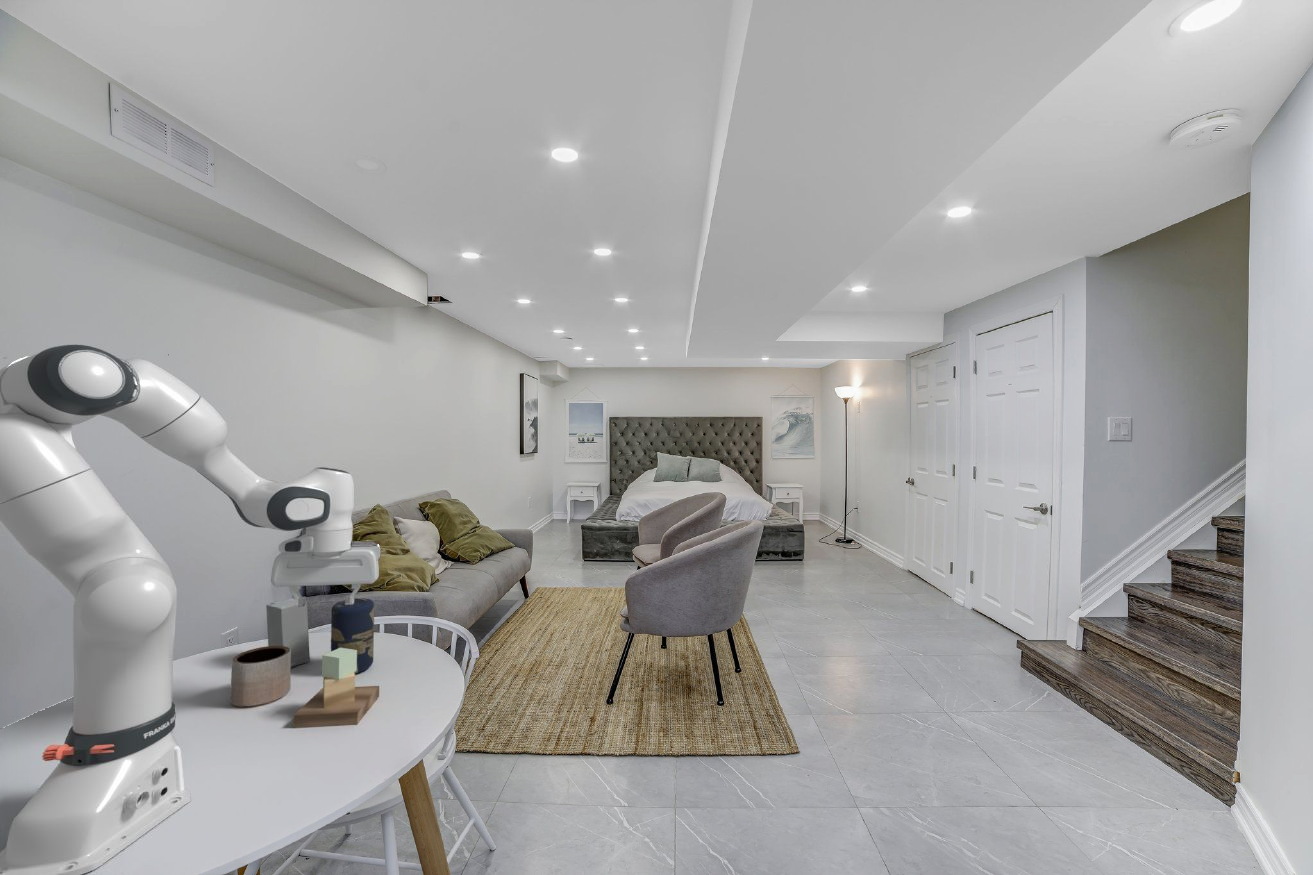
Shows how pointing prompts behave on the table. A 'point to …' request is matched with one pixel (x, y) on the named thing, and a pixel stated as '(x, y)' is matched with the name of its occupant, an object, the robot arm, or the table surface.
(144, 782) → the robot arm
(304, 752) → the table surface
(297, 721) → the base plate
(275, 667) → the planter
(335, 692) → the oak cube
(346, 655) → the green cube
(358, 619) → the canister
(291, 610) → the skincare box
